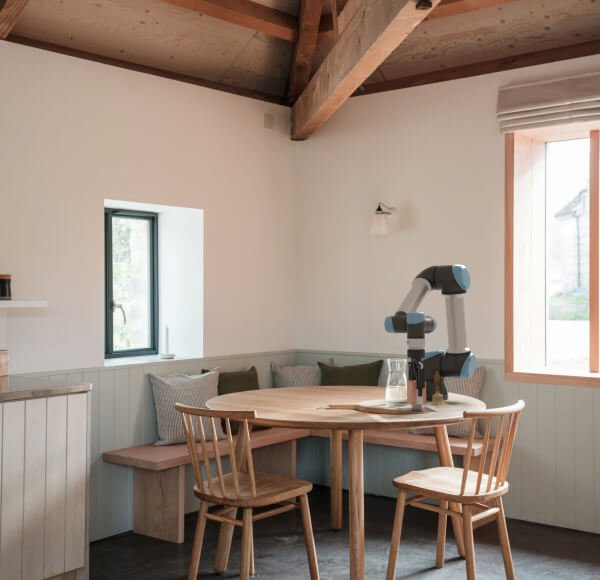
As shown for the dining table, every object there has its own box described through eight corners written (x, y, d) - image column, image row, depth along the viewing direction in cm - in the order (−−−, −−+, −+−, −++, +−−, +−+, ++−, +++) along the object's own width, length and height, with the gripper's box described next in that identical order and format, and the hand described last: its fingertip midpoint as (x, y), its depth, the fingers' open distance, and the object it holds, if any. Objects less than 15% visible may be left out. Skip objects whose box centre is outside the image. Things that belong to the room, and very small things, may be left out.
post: (419, 409, 335) (418, 390, 336) (421, 410, 332) (421, 391, 332) (411, 409, 335) (411, 390, 335) (414, 410, 332) (414, 391, 332)
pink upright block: (420, 402, 337) (420, 379, 337) (426, 404, 331) (425, 381, 331) (407, 403, 336) (406, 380, 336) (412, 405, 330) (411, 381, 330)
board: (426, 410, 342) (426, 407, 342) (438, 415, 328) (438, 411, 328) (395, 411, 339) (395, 408, 339) (406, 416, 325) (406, 412, 325)
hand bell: (432, 408, 348) (432, 372, 348) (425, 406, 356) (425, 370, 356) (450, 408, 349) (449, 372, 349) (443, 405, 357) (442, 370, 358)
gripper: (400, 347, 342) (400, 400, 342) (415, 350, 324) (416, 406, 323) (416, 347, 344) (417, 400, 344) (432, 349, 325) (433, 405, 325)
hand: (416, 403), depth 334 cm, fingers closed on pink upright block, 6 cm apart
